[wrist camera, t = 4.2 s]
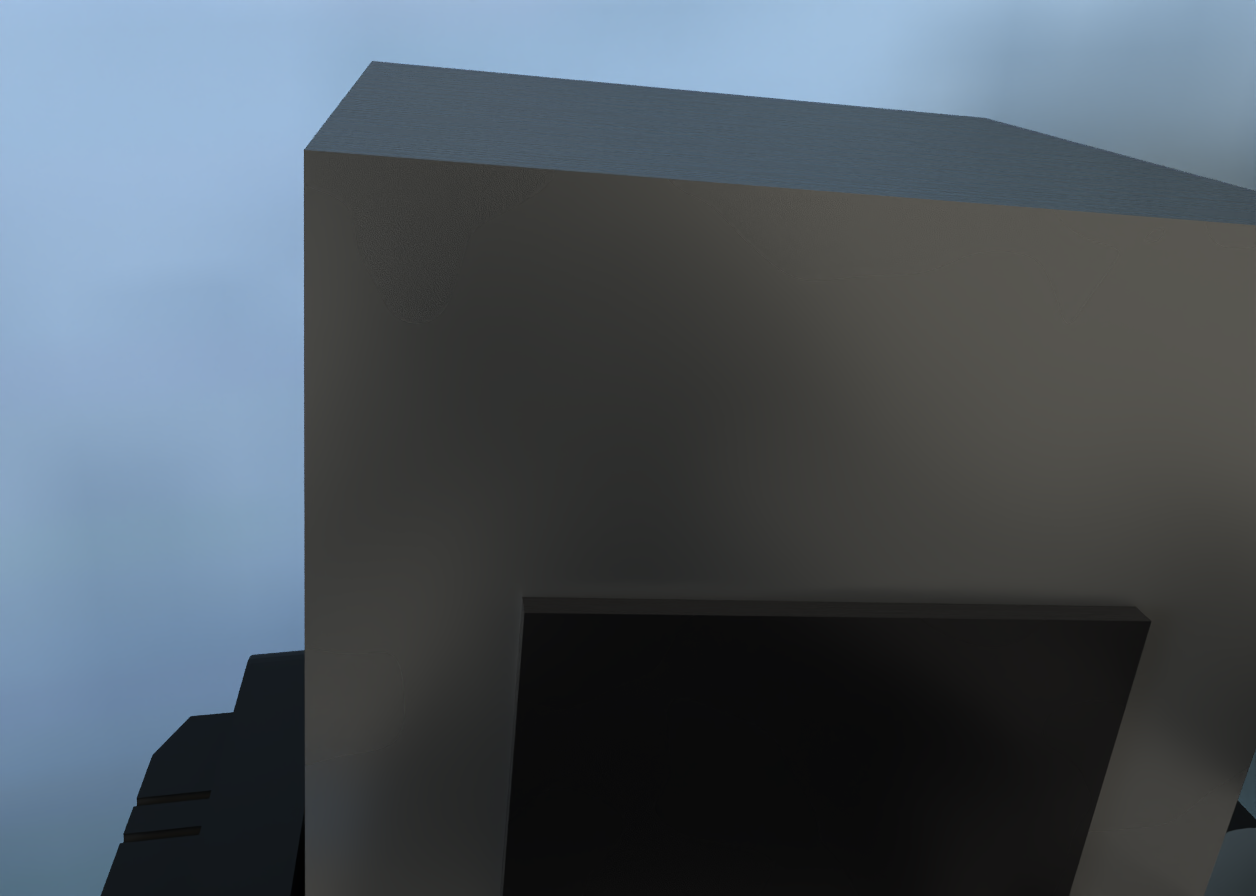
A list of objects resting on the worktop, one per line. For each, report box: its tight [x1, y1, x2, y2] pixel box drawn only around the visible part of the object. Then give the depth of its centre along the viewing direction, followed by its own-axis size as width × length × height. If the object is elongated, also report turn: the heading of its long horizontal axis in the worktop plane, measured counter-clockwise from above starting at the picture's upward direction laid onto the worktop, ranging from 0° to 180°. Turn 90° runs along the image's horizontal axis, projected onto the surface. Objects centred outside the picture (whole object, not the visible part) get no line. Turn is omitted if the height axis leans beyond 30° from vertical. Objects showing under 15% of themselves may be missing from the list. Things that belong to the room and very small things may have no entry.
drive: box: [304, 61, 1256, 896], centre depth 9 cm, size 11×5×5 cm, turn 174°
